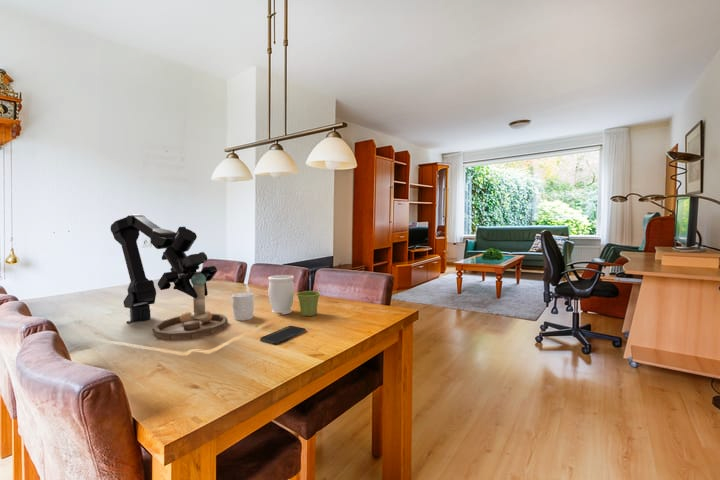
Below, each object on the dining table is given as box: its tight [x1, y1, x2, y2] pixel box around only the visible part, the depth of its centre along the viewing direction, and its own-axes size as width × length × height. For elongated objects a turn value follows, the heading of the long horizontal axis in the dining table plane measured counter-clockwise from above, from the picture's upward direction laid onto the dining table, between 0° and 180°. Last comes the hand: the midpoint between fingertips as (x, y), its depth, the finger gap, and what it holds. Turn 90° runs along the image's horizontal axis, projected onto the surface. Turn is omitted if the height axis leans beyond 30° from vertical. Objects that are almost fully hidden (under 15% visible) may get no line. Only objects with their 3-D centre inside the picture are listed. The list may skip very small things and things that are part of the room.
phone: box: [259, 325, 307, 346], centre depth 111 cm, size 8×1×15 cm
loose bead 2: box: [199, 310, 212, 323], centre depth 122 cm, size 4×4×4 cm
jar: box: [267, 274, 295, 316], centre depth 139 cm, size 11×10×15 cm
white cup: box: [231, 291, 255, 321], centre depth 128 cm, size 8×8×10 cm
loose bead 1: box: [179, 311, 193, 324], centre depth 121 cm, size 4×4×4 cm
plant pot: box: [296, 290, 321, 317], centre depth 136 cm, size 9×9×9 cm
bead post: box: [190, 273, 208, 319], centre depth 111 cm, size 5×5×15 cm
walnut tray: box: [152, 312, 229, 341], centre depth 116 cm, size 22×22×3 cm
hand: (201, 296), depth 110 cm, fingers closed on bead post, 3 cm apart
